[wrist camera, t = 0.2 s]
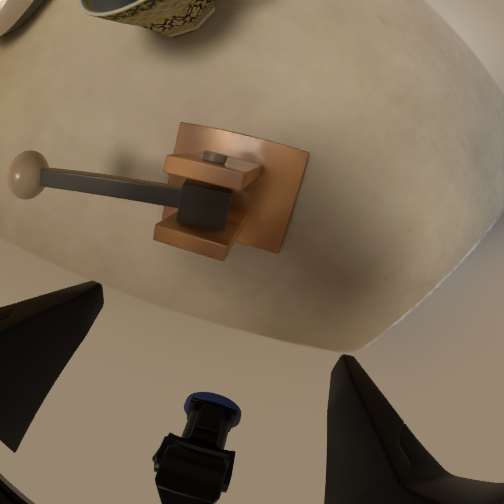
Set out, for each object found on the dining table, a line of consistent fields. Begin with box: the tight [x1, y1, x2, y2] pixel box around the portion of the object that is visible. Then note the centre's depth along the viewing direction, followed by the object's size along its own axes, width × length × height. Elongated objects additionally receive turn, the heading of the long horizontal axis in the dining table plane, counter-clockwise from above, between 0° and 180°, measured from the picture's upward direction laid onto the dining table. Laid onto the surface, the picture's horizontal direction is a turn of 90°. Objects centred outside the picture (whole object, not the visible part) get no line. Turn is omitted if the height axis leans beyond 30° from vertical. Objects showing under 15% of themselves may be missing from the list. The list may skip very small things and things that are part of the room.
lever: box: [8, 151, 233, 230], centre depth 14 cm, size 16×3×3 cm, turn 75°
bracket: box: [153, 122, 309, 261], centre depth 19 cm, size 11×9×10 cm
